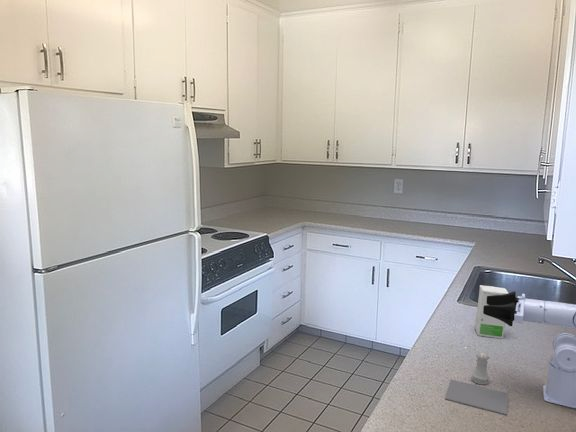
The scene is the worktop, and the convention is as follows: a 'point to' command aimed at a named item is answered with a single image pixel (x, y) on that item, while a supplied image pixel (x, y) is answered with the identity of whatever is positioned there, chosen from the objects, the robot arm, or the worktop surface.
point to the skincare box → (484, 322)
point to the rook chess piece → (481, 369)
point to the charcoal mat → (477, 396)
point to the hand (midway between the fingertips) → (485, 304)
